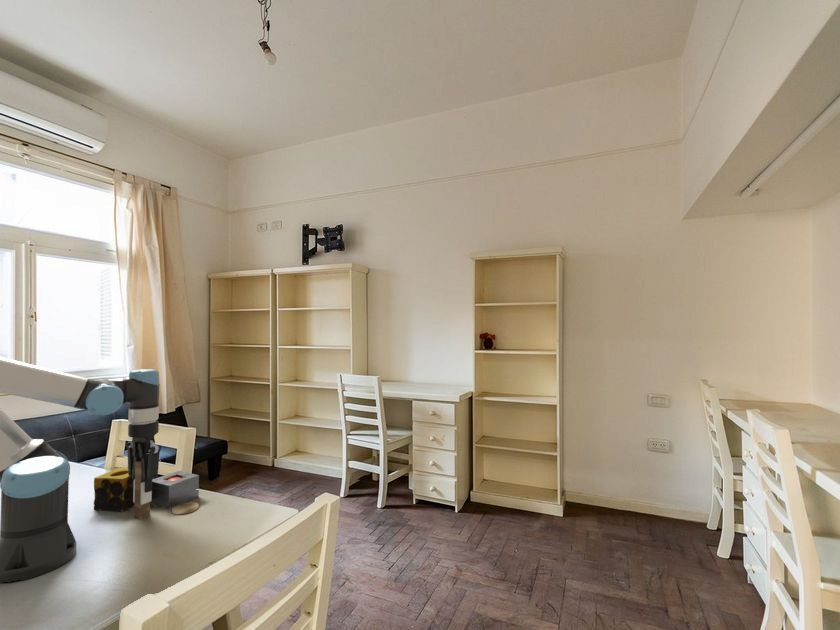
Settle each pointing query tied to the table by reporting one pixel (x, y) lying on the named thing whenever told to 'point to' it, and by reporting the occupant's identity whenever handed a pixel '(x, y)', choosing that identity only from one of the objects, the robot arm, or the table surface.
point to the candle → (114, 490)
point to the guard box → (174, 489)
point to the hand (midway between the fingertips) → (142, 501)
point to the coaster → (185, 508)
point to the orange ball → (174, 479)
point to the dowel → (139, 493)
